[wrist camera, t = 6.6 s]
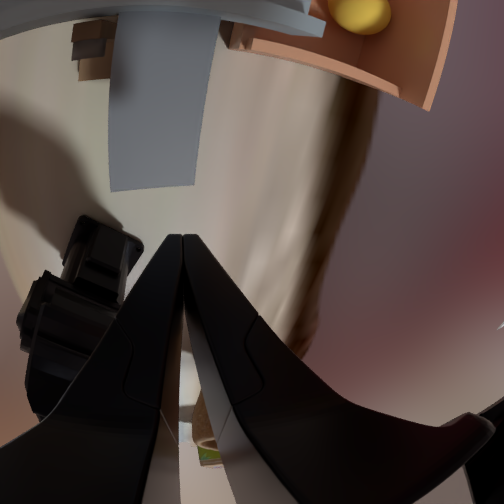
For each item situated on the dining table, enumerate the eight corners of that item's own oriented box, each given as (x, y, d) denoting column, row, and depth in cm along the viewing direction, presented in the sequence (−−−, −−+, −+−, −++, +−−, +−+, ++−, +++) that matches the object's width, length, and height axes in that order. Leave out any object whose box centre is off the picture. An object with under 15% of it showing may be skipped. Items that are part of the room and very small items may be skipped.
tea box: (236, 420, 71) (246, 464, 60) (203, 425, 70) (211, 469, 59) (230, 409, 60) (241, 462, 50) (191, 414, 59) (199, 467, 49)
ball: (378, 48, 11) (317, 32, 13) (395, 37, 12) (343, 22, 14) (382, -11, 7) (314, -22, 9) (399, -11, 9) (342, -23, 10)
